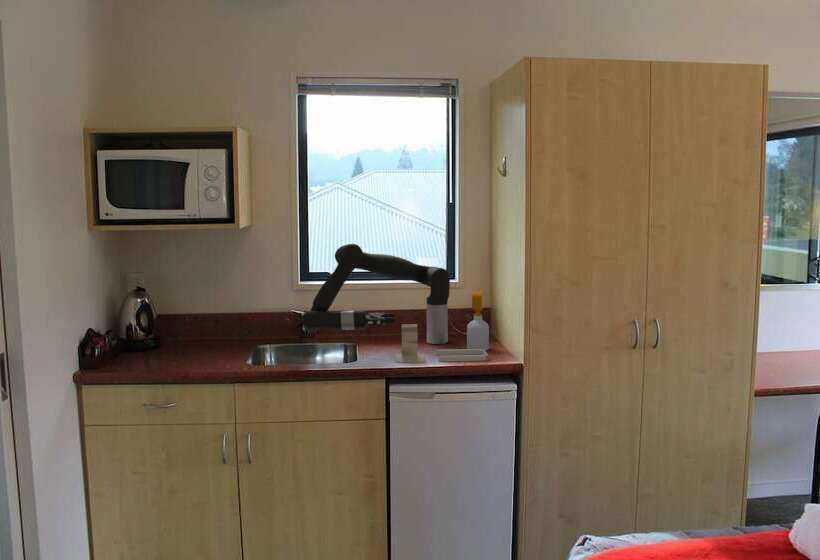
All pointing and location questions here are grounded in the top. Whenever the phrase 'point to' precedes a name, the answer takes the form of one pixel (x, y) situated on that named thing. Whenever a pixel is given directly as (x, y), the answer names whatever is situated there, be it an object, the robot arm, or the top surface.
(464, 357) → the walled channel
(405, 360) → the grey mat
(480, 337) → the soap bottle
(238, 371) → the top surface
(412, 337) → the birch block
